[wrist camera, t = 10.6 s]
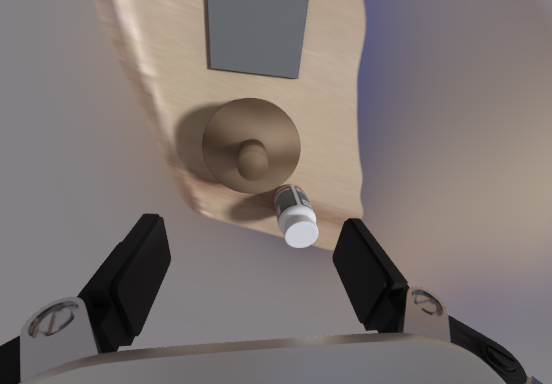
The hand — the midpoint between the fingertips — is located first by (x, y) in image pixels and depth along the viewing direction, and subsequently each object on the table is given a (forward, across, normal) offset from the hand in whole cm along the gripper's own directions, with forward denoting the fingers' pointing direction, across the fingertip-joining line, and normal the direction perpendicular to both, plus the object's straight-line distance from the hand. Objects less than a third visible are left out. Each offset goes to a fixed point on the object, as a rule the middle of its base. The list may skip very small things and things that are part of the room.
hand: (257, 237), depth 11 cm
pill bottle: (+22, -7, +11) cm, 26 cm away
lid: (+17, 0, +1) cm, 17 cm away
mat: (+22, 0, -13) cm, 26 cm away
